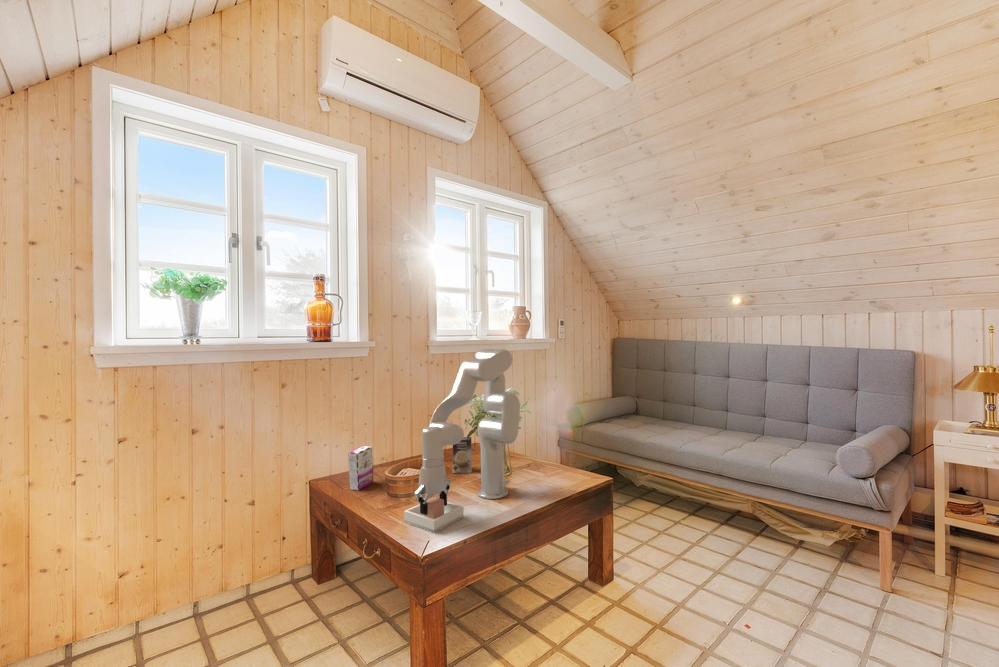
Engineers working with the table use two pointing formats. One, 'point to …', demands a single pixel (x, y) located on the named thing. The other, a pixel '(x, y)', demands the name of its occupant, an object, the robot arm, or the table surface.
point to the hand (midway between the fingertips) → (433, 509)
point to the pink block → (435, 508)
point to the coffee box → (462, 456)
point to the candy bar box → (360, 468)
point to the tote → (450, 516)
